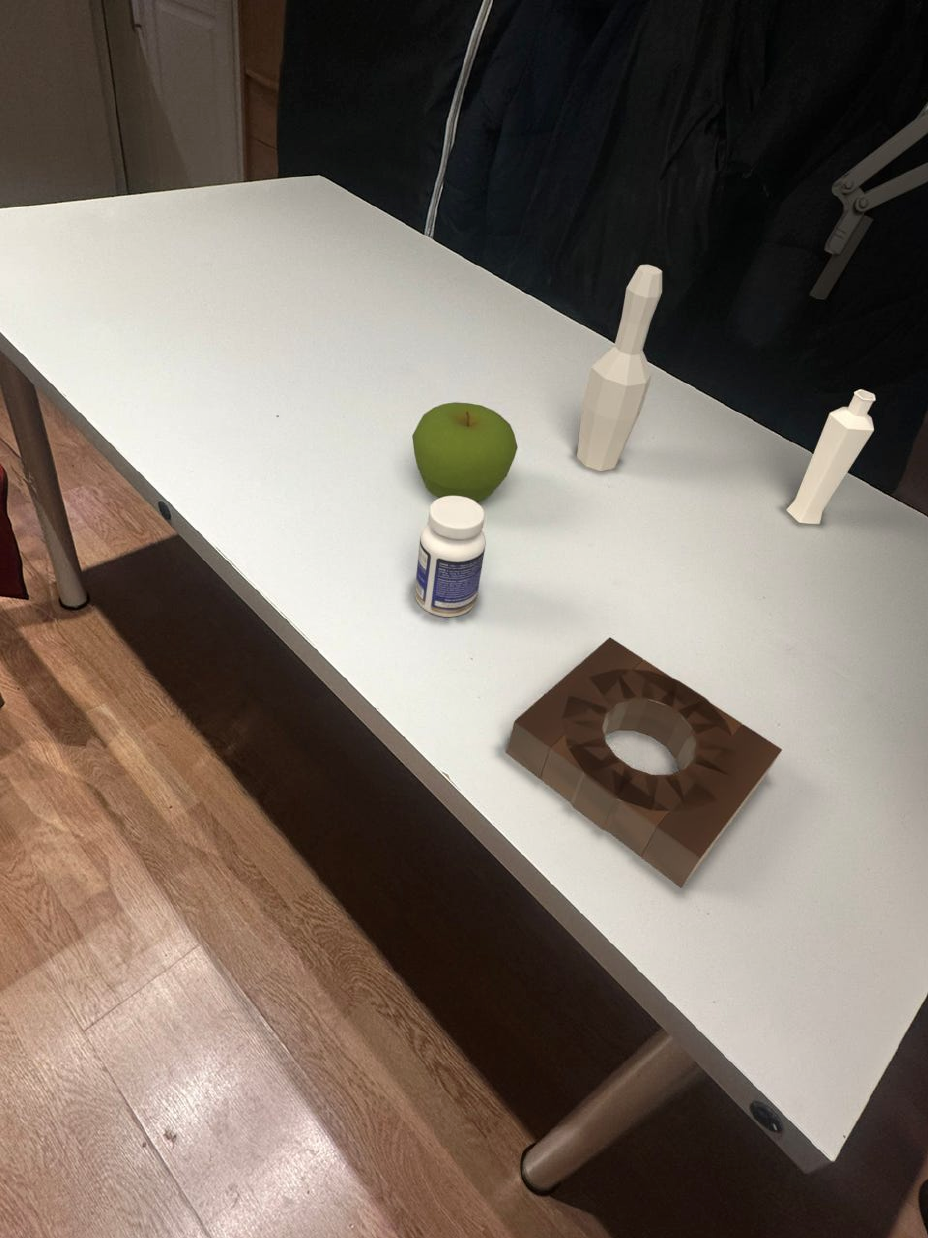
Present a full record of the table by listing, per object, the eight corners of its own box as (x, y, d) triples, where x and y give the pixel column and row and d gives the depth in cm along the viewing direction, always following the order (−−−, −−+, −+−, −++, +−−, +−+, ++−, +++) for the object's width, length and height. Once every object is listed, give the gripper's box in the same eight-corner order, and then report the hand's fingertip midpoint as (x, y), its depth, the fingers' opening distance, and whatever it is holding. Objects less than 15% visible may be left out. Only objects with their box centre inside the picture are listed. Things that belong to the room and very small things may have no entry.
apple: (440, 536, 82) (452, 451, 75) (388, 479, 88) (394, 395, 81) (526, 508, 87) (544, 426, 80) (471, 456, 93) (484, 376, 86)
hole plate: (763, 778, 65) (783, 748, 62) (680, 890, 57) (698, 861, 54) (599, 667, 72) (610, 635, 69) (504, 753, 64) (512, 721, 61)
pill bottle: (487, 594, 77) (503, 508, 70) (455, 628, 73) (469, 541, 66) (434, 569, 78) (445, 482, 71) (401, 601, 75) (410, 513, 68)
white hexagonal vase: (810, 532, 90) (874, 411, 80) (778, 511, 92) (836, 391, 82) (833, 519, 93) (898, 400, 82) (800, 498, 95) (859, 380, 84)
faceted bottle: (559, 455, 95) (605, 263, 80) (592, 438, 99) (642, 252, 84) (602, 481, 92) (658, 288, 77) (635, 463, 96) (694, 274, 81)
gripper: (1174, 142, 65) (995, 392, 73) (898, -4, 64) (748, 267, 72) (1245, 126, 58) (1039, 404, 67) (937, -39, 57) (766, 265, 65)
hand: (887, 333), depth 69 cm, fingers open, 13 cm apart
